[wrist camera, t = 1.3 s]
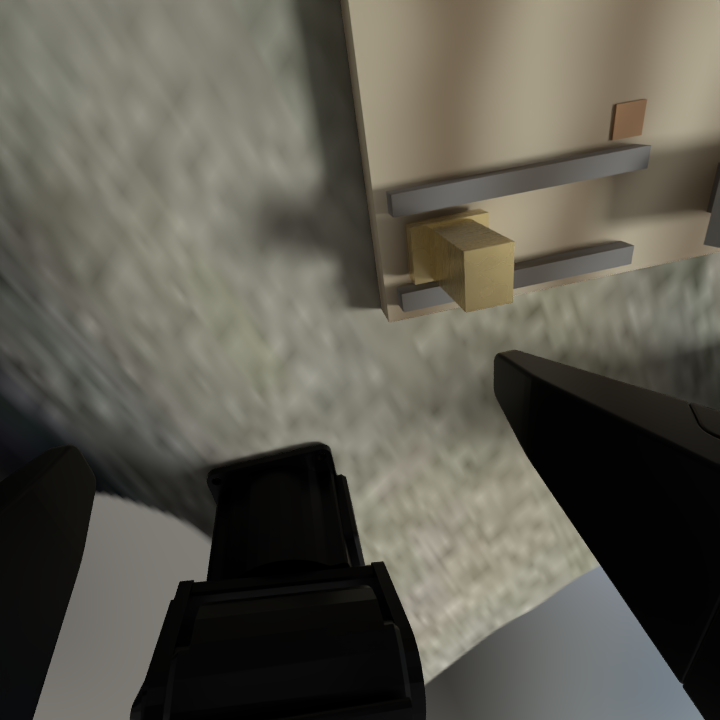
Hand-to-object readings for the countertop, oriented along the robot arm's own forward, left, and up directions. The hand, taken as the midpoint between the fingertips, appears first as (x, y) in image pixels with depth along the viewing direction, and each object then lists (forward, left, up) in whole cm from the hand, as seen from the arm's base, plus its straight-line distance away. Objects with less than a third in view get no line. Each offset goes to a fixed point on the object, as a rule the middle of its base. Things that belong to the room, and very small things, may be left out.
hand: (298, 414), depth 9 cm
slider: (+6, 0, -9) cm, 11 cm away
